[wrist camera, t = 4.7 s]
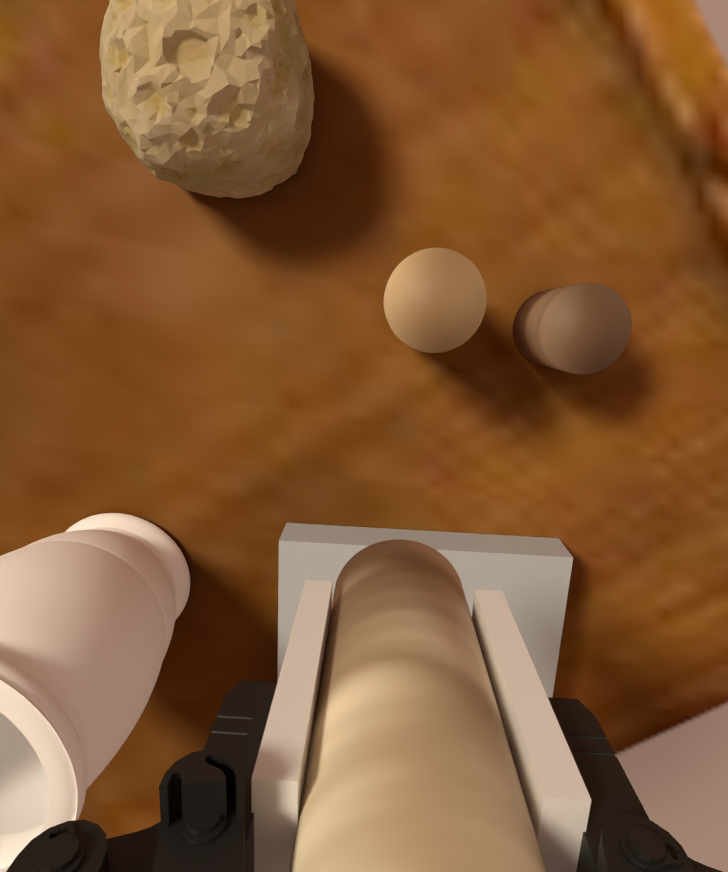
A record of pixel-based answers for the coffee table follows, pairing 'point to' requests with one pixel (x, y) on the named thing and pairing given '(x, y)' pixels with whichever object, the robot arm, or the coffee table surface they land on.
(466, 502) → the coffee table surface
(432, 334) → the oak pin
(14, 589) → the jar
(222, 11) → the decorative object
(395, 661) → the birch pin
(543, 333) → the walnut pin
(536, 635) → the hole plate
